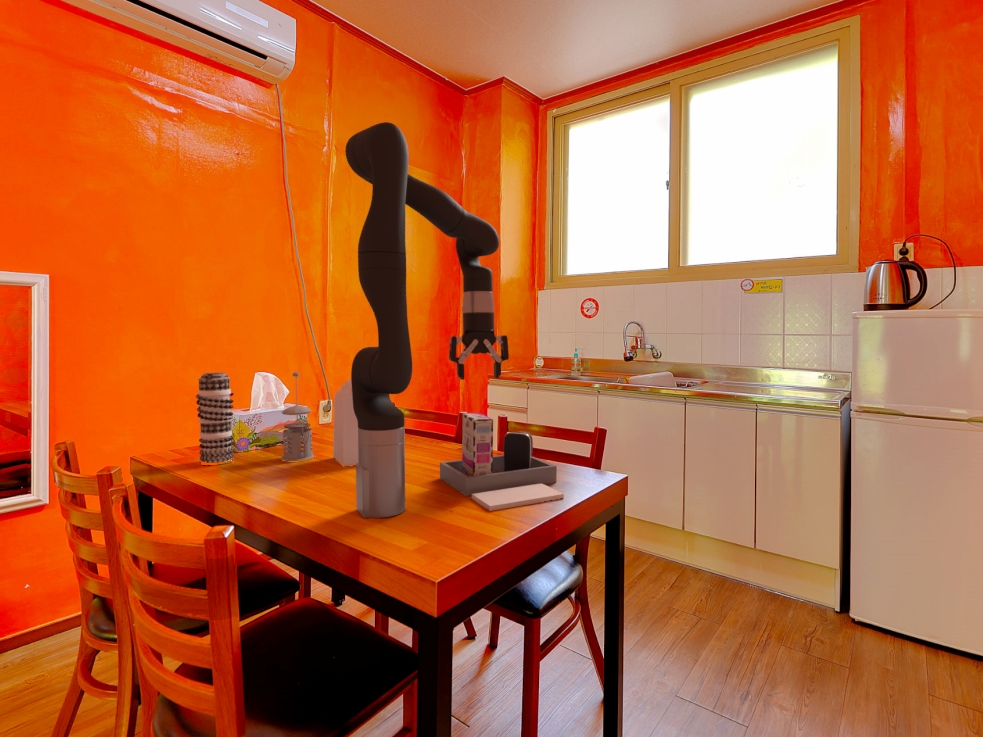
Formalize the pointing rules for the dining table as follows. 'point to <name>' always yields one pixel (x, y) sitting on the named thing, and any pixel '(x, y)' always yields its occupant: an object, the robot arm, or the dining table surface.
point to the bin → (497, 476)
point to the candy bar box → (477, 444)
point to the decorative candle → (215, 418)
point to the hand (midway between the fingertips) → (479, 378)
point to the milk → (345, 427)
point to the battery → (517, 451)
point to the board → (516, 496)
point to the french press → (297, 434)
